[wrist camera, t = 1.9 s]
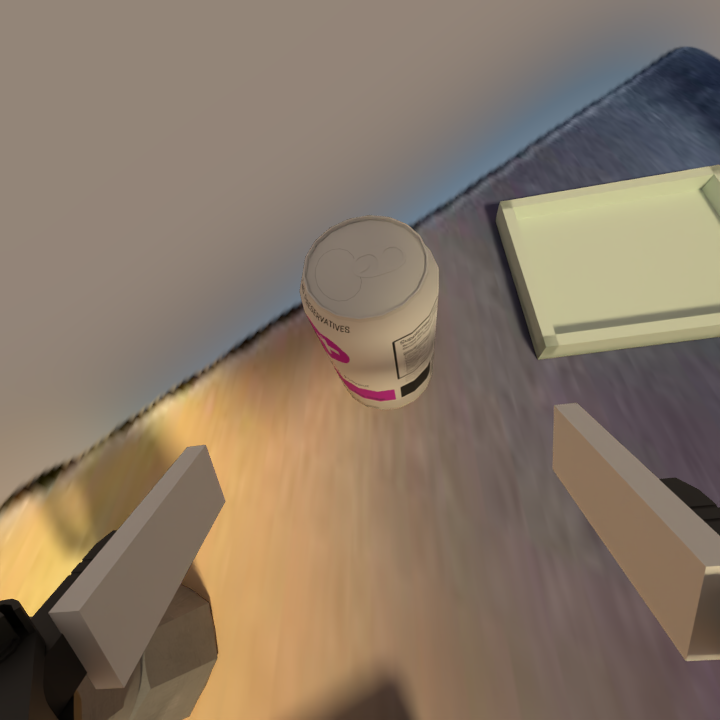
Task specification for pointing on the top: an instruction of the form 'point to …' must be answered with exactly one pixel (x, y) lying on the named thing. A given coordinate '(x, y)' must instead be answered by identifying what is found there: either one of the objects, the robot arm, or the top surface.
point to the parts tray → (617, 262)
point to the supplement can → (374, 307)
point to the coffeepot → (162, 668)
